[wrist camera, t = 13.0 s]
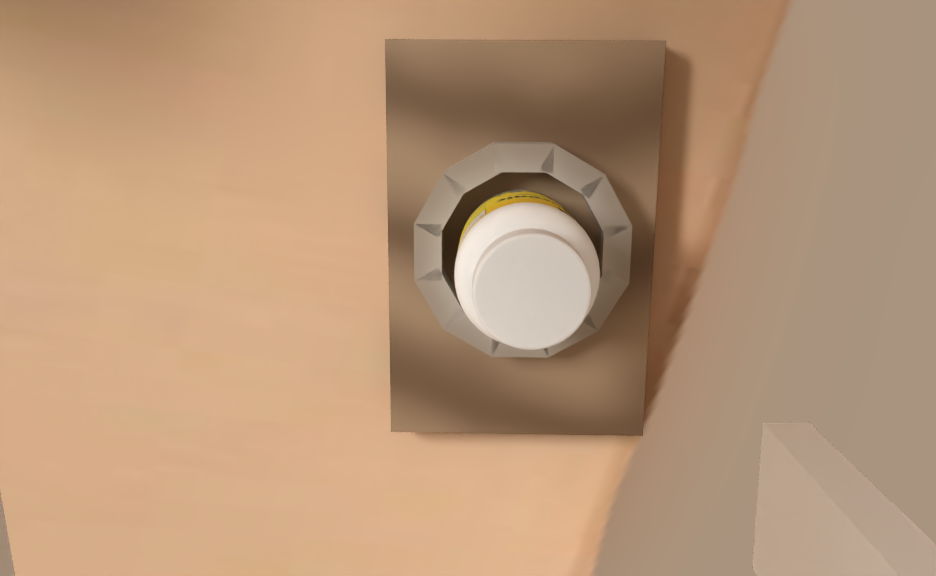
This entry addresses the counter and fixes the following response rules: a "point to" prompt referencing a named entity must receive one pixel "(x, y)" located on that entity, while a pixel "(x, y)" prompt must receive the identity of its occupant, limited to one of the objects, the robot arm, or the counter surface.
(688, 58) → the counter surface
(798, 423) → the robot arm
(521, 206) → the supplement bottle
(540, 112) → the mount board
